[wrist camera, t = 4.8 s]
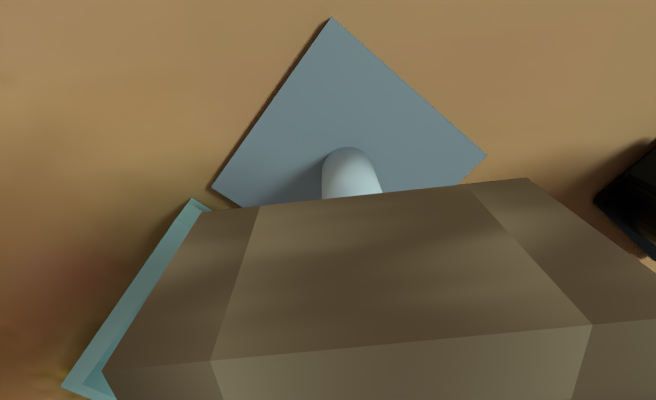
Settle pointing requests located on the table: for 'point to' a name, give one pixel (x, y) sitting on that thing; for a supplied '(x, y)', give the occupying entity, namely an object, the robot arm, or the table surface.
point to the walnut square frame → (395, 304)
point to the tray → (128, 310)
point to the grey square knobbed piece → (344, 133)
